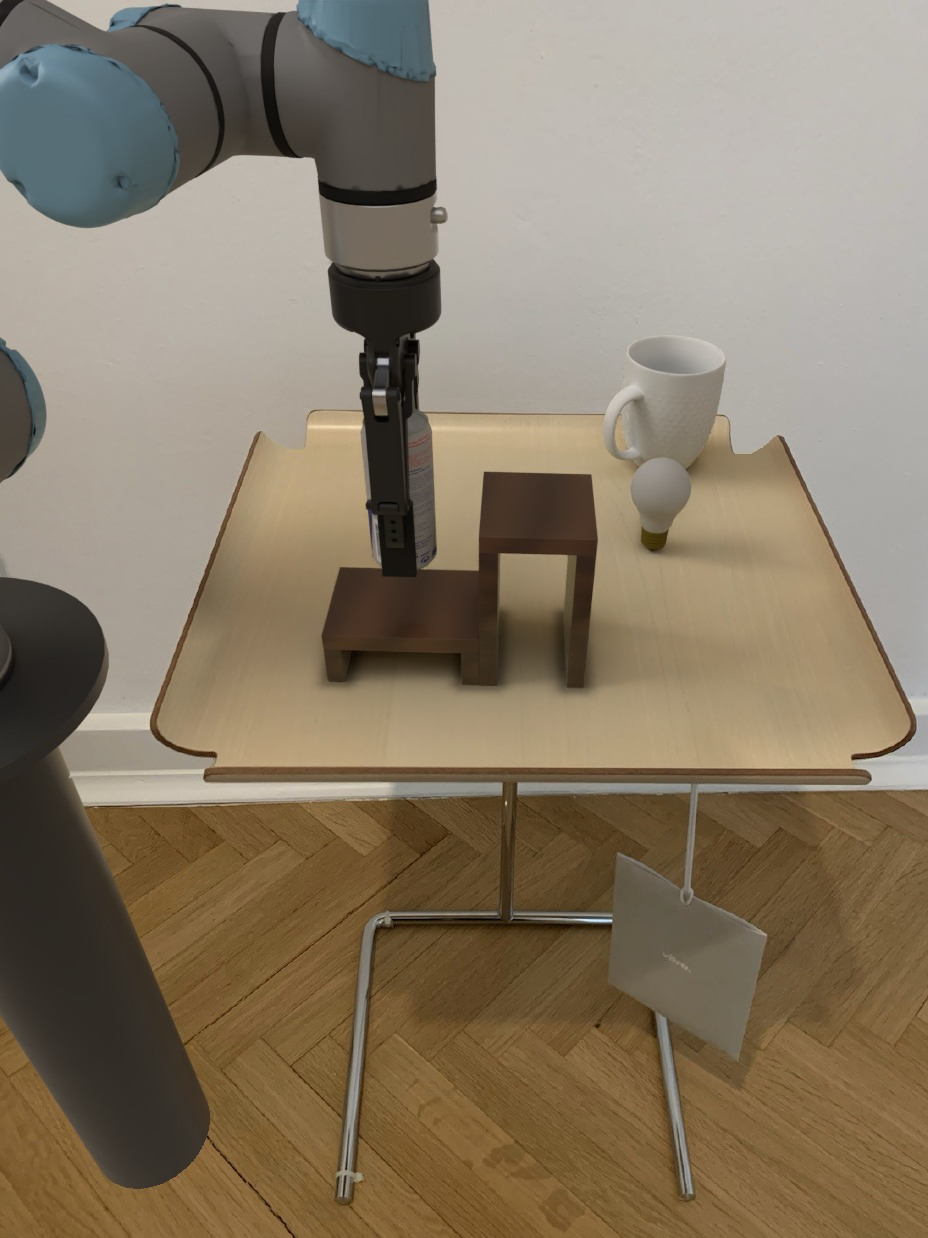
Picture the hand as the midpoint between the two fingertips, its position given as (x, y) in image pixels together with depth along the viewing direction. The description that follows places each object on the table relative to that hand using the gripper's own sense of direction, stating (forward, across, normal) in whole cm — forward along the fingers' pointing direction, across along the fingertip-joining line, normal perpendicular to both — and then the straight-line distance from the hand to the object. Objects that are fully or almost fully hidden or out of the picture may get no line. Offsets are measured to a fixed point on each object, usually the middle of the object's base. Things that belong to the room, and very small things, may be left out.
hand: (403, 552), depth 78 cm
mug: (+10, +35, -25) cm, 44 cm away
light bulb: (+10, +17, -23) cm, 31 cm away
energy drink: (0, 0, 0) cm, 1 cm away
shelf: (+10, 0, -4) cm, 11 cm away
